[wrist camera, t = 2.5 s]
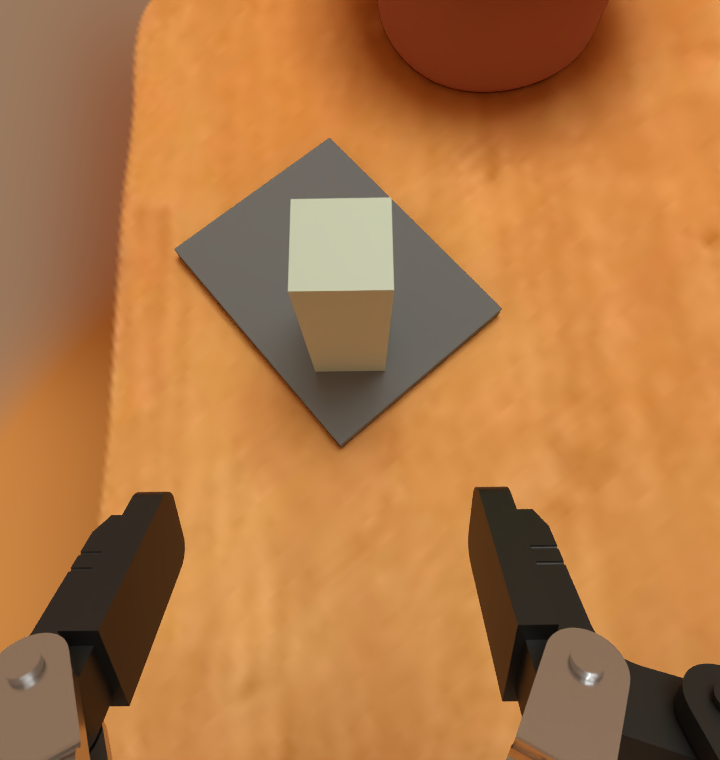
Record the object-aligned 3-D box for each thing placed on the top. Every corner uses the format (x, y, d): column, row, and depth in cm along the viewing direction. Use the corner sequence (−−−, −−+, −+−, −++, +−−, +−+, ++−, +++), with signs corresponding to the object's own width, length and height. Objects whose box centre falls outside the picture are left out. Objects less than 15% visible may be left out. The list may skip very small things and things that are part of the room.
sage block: (384, 370, 34) (394, 289, 22) (315, 371, 34) (288, 291, 22) (383, 306, 35) (391, 197, 23) (316, 307, 35) (290, 199, 23)
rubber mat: (498, 314, 36) (501, 308, 35) (341, 447, 33) (340, 445, 32) (330, 147, 39) (329, 137, 38) (179, 256, 37) (174, 249, 36)
